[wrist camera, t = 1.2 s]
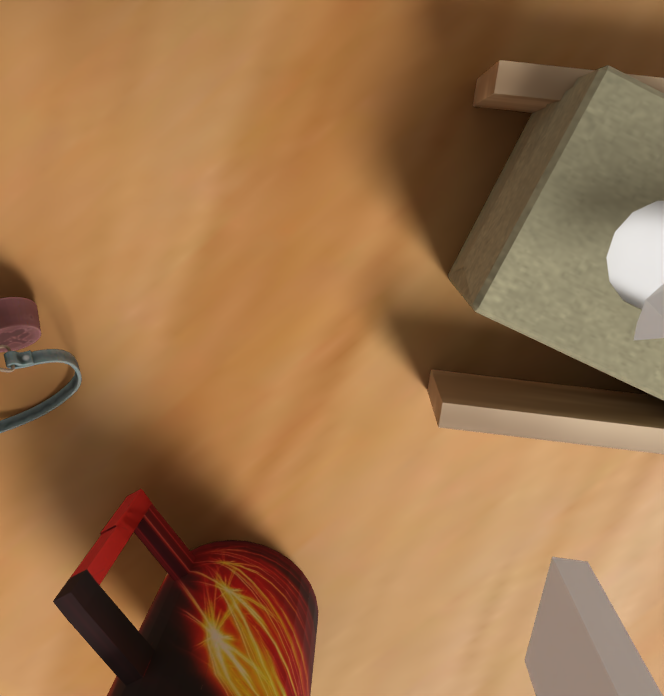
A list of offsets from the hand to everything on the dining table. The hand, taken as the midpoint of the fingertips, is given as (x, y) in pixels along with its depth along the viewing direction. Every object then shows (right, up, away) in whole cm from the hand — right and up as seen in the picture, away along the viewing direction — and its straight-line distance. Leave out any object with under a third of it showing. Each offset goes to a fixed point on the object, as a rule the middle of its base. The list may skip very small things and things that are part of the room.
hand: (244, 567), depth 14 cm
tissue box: (+18, +9, +18) cm, 27 cm away
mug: (-5, -10, +24) cm, 26 cm away
